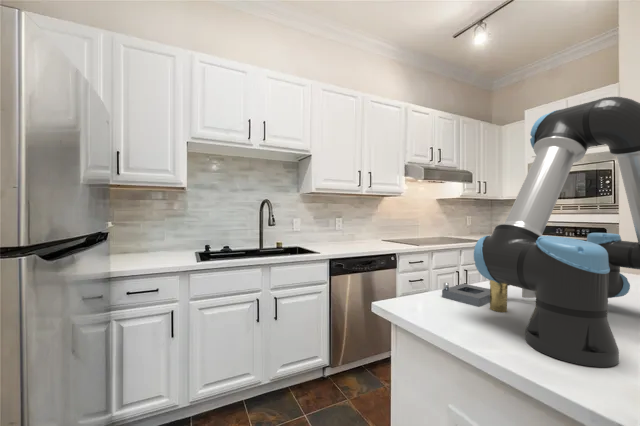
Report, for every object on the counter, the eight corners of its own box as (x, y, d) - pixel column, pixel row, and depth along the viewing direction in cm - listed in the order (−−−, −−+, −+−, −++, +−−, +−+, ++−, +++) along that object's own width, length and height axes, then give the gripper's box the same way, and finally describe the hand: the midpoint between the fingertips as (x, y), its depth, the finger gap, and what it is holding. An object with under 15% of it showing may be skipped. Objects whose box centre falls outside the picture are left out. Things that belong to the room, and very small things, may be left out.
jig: (479, 306, 90) (479, 291, 90) (441, 296, 100) (441, 283, 100) (499, 298, 98) (499, 285, 98) (462, 290, 108) (462, 277, 108)
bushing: (503, 313, 84) (504, 271, 84) (486, 309, 88) (487, 268, 88) (509, 310, 87) (510, 269, 87) (493, 306, 91) (494, 266, 90)
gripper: (616, 311, 77) (540, 313, 75) (538, 286, 102) (479, 287, 100) (617, 283, 77) (540, 284, 75) (538, 264, 102) (479, 265, 100)
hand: (505, 286), depth 88 cm, fingers open, 13 cm apart
